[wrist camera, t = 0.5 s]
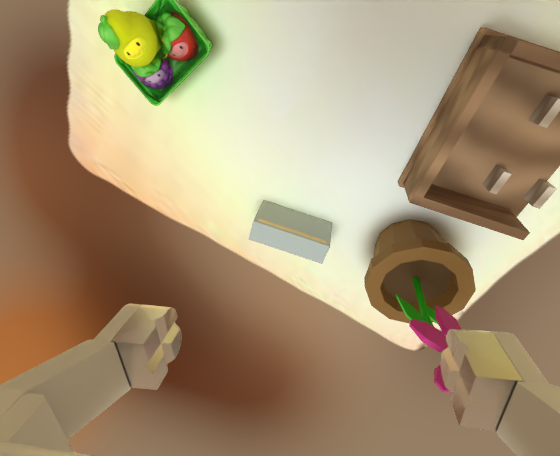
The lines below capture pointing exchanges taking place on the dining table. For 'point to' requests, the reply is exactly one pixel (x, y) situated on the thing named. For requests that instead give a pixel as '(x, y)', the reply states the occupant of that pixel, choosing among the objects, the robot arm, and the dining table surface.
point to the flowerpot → (419, 282)
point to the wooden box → (491, 136)
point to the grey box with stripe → (291, 231)
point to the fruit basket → (155, 46)
